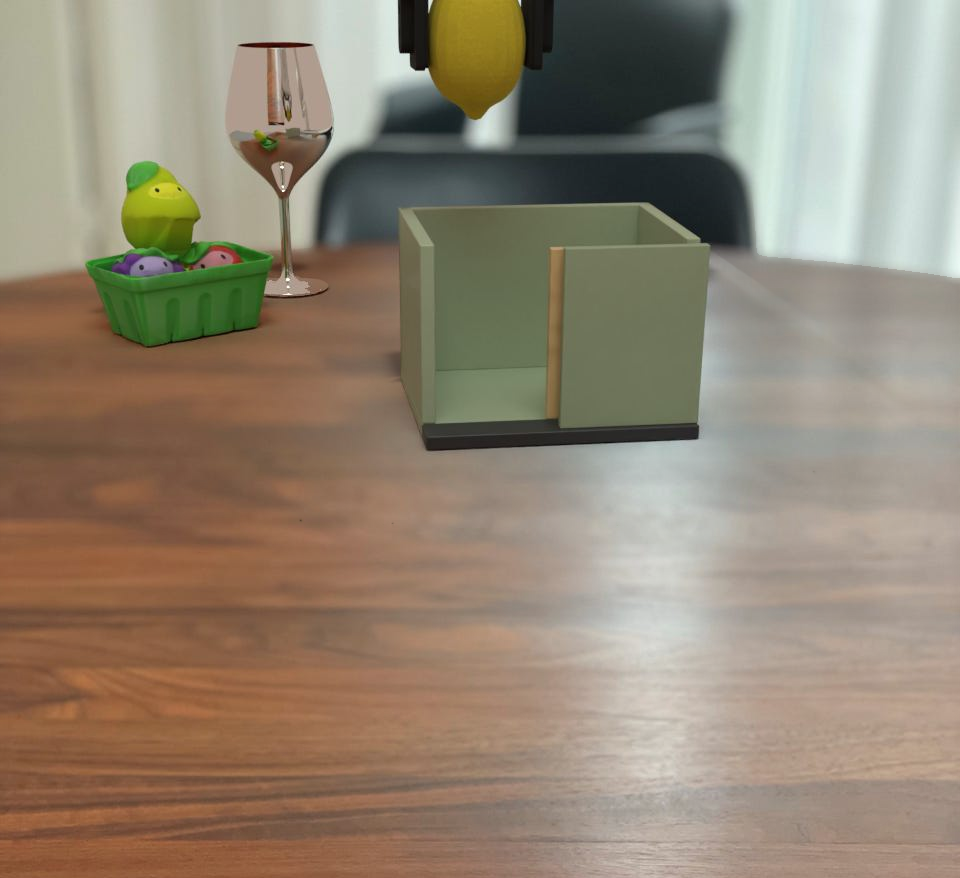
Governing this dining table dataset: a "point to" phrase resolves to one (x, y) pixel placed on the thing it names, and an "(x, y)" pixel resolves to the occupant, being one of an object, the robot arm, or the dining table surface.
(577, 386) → the cupboard
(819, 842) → the dining table surface
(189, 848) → the dining table surface
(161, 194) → the fruit basket
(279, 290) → the wineglass
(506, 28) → the lemon
